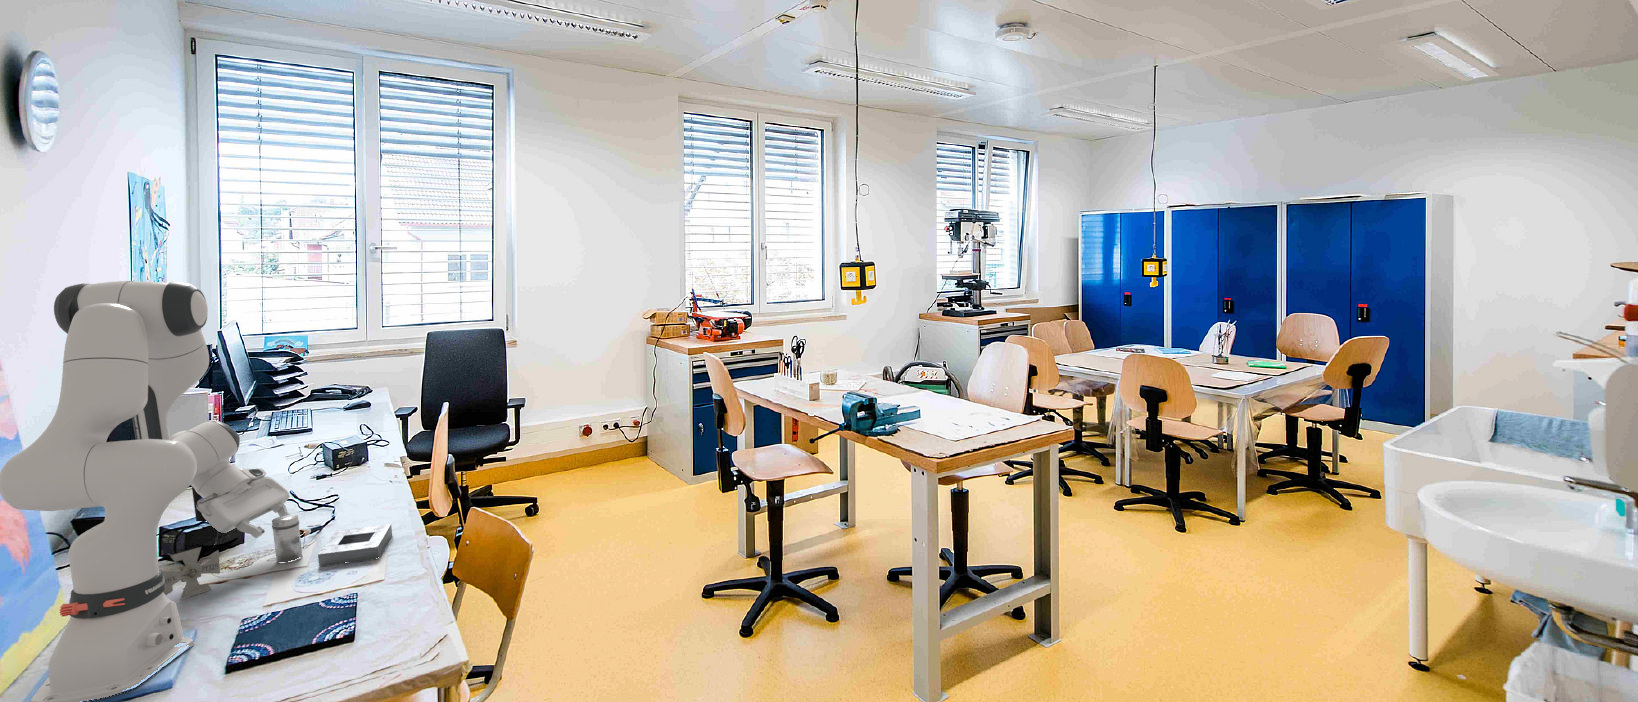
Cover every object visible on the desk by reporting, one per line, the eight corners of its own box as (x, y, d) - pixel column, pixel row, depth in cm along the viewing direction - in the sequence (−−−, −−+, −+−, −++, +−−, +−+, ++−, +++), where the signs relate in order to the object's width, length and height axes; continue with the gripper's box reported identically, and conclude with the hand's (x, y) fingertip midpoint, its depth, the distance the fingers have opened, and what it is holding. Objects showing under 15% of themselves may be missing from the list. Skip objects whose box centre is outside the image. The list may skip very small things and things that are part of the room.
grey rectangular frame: (378, 558, 175) (377, 546, 174) (319, 566, 171) (317, 554, 170) (392, 535, 190) (391, 524, 189) (337, 542, 186) (336, 530, 185)
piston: (299, 561, 174) (294, 520, 173) (272, 565, 172) (267, 523, 171) (305, 553, 179) (301, 513, 177) (280, 556, 177) (275, 516, 176)
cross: (219, 584, 162) (213, 540, 161) (225, 586, 161) (220, 542, 160) (160, 604, 153) (154, 557, 152) (166, 606, 152) (160, 560, 151)
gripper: (200, 493, 162) (251, 534, 164) (266, 466, 183) (311, 503, 184) (182, 513, 163) (233, 554, 164) (250, 484, 183) (295, 521, 185)
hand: (275, 527), depth 174 cm, fingers open, 8 cm apart
